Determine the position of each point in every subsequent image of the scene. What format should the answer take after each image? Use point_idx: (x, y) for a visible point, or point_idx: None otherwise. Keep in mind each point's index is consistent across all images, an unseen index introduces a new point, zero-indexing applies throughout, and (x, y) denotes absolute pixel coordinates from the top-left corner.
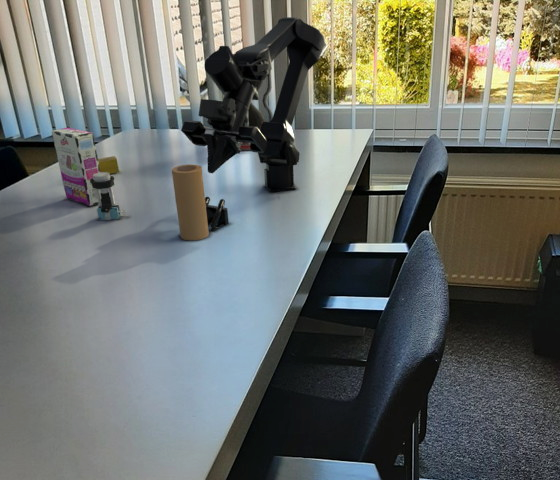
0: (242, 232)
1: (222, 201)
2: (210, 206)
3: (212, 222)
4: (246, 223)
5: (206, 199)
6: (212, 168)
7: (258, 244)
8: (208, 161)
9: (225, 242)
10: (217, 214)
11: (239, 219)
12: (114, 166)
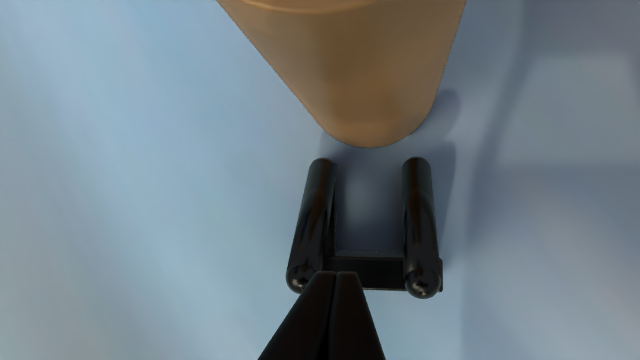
0: (195, 209)
1: (292, 265)
2: (398, 270)
3: (321, 167)
4: (236, 316)
5: (415, 262)
6: (301, 298)
7: (73, 125)
8: (366, 349)
9: (200, 82)
10: (304, 201)
11: None
12: None
